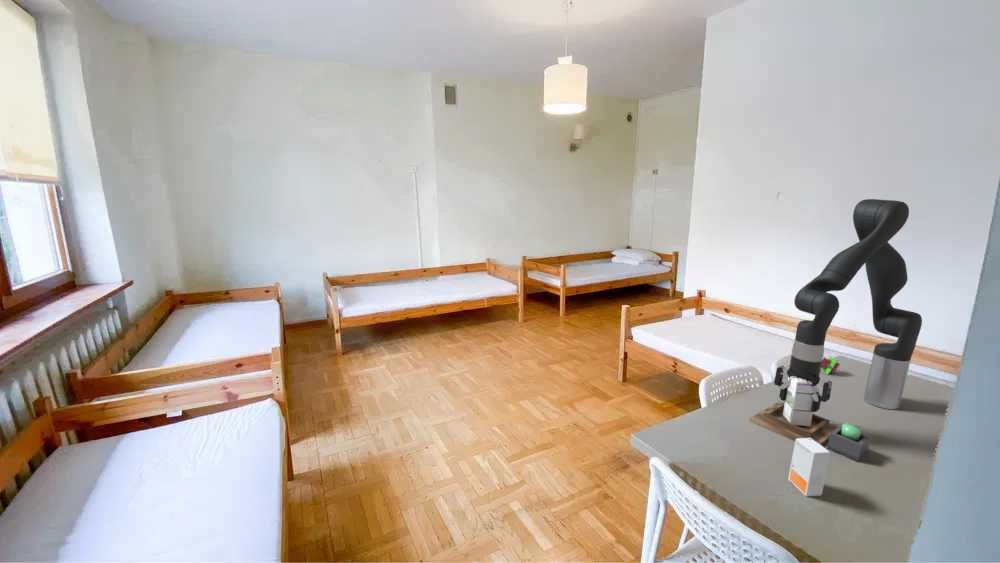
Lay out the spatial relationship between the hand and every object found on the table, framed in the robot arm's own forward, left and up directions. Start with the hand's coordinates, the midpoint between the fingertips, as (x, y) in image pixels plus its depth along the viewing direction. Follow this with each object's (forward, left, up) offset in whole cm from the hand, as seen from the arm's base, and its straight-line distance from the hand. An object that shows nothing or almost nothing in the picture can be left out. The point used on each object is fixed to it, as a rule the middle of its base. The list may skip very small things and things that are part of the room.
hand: (798, 405), depth 129 cm
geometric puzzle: (-54, -10, -7) cm, 55 cm away
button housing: (+2, +14, -7) cm, 16 cm away
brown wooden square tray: (0, 0, -7) cm, 7 cm away
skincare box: (+29, +14, -7) cm, 33 cm away
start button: (+2, +14, -2) cm, 14 cm away
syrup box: (0, 0, -5) cm, 5 cm away
